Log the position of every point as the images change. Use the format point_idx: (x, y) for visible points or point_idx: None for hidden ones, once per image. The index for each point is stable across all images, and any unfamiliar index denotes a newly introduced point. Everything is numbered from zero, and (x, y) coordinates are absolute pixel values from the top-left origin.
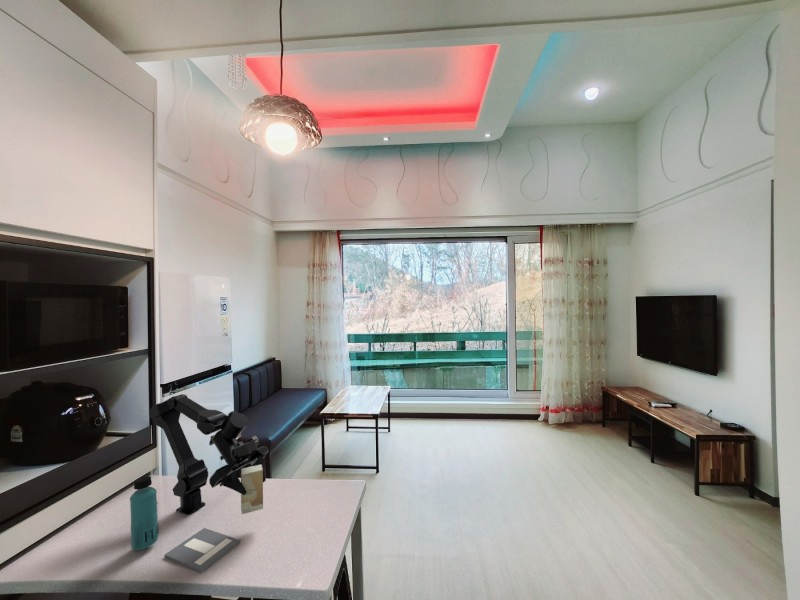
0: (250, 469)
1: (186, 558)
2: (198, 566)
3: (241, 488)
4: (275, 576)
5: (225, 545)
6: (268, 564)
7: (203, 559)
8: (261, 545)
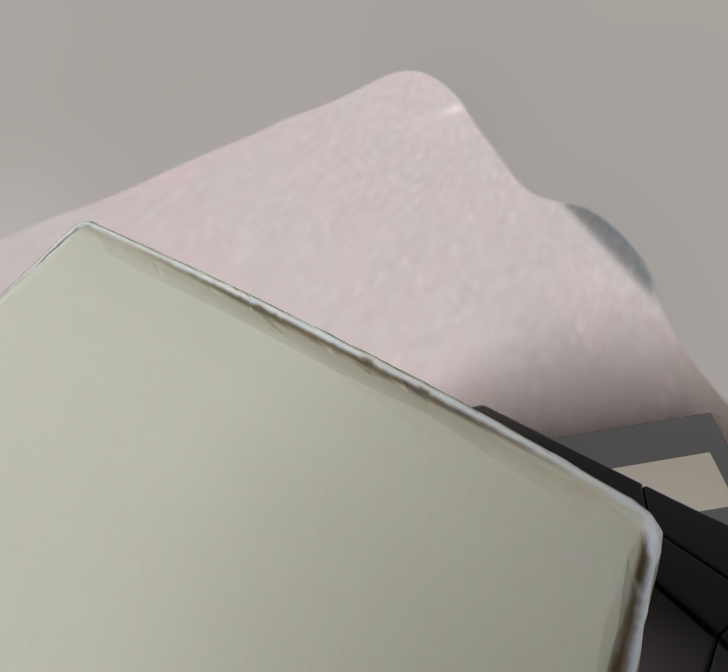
0: (185, 586)
1: None
2: (718, 450)
3: (551, 443)
4: (482, 173)
5: None
6: (467, 230)
7: (685, 480)
8: (421, 339)
